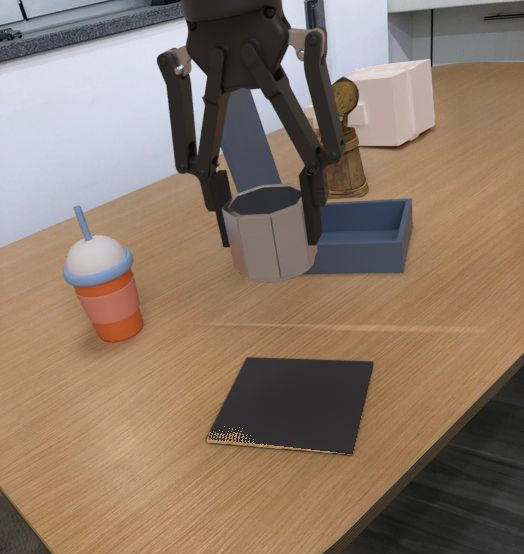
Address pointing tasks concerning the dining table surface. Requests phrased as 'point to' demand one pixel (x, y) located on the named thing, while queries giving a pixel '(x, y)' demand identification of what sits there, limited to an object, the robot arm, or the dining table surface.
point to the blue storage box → (363, 237)
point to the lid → (247, 144)
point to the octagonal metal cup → (268, 233)
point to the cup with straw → (104, 283)
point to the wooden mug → (349, 170)
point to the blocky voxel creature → (390, 103)
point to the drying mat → (296, 403)
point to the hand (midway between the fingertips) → (272, 239)
